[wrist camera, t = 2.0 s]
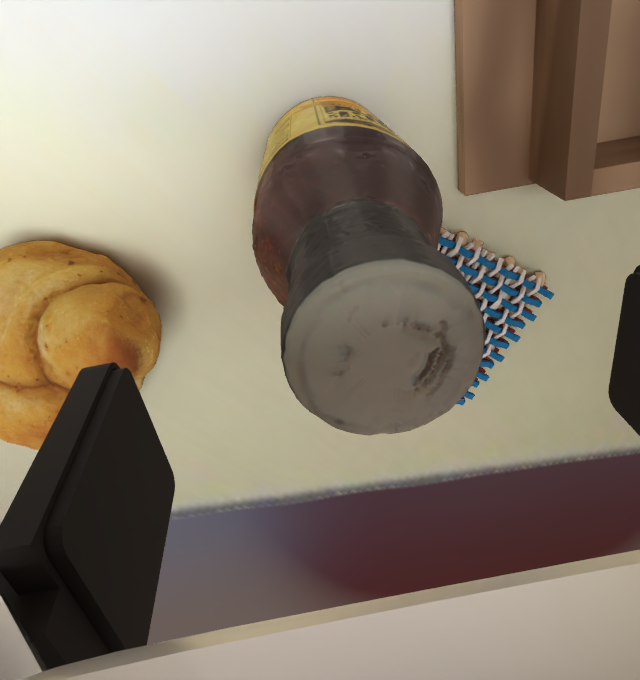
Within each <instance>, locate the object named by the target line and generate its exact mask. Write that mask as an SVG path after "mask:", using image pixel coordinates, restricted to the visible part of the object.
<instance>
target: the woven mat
mask: <svg viewBox="0 0 640 680" xmlns="http://www.w3.org/2000/svg"><path fill="white" fill-rule="evenodd" d="M454 236H455V235H454V234H452V233H449V231H447V230H445V229H443V228H441V229H440V236H439V242H438V249H437V250H438V251H440V252H441V253H443V254H444V255H446V256H447V257H448V258H449V259H450V260H451V261H452V262H453V264H454V265H455V266H456V268H457V269H458V270H459V271H460V273H461V274H462V275H463V276H464V275H465V274H466V276H465V277H464V278H465V280H466V282H467V283H468V285H469V287H470V288H471V291H472V292H475V293H476V294H475V297H476V299H477V300H478V303H479V306H480V309H481V311H483V313H482V316H483V319H484V323H485V326H486V327H487V328H489V329H490V330H489V331H487V330H486V340H485V345H484V352H483V358H482V361H481V364H480V366H482V367H489V368H492V367H493V366H494V362H493V361H492V360H491V359H490V358H487V357H486V356H488V355H489V356H491V357H492V358H494V359H495V360H497V361H500V362H502V360H503V359H504V358H505V357H504V356H502V355H500V354H498V353H497V352H498V351H499V349H498V348H496V347H502V348H505V349H507V348H508V347H509V343H508V341H507V340H505V339H503V338H501V336H503V335H505V336H506V337H508V338H510V339H511V340H513V341H515V342H517V341H518V340H519V339H520V336H518V335H516V334H514V332H515V330H514V329H512V328H510V327H508V325H511V326H515V327H519V328H521V329H523V327H524V326H525V323H524V321H523V320H521V319H519V318H517V317H516V316H517V315H519V314H521V315H522V316H524V317H525V318H527V319H529V320H531V321H534V320H535V318H536V317H537V316H535V315H534V314H532V311H531V310H530V309H528V308H526V307H524V305H525V303H527V304H530V305H533V306H536V307H538V308H539V307H540V306H541V304H542V301H540V299H539V298H537V297H535V296H533V294H535V293H537V292H539V293H540V294H542V295H544V296H545V297H547V298H549V299H551V298H552V297H553V295H554V294H553V293H552V292H550V291H548V290H547V289H548V287H546V286H545V285H544V282H545V277H546V275H545V274H544V273H543V272H535V273H534V275H533V276H531V277H528V276H525V274H526V271H525V270H524V269H522V268H520V267H518V266H516V268H515V269H514V270H512V268H514V262H515V258H513V257H510V256H509V257H507V258H504V259H503V258H500V257H499V259H498V262H496V261H494V260H493V258H494V257H495V254H494V253H491V252H488V251H487V250H485V249H483V251H482V252H481V246H482V245H483V242H482V241H480V240H478V239H476V238H474V239H473V241H472V242H471V243H469V244H468V245H467V241H468V235H467V233H466V232H459V233H458V234H457V236H456V239H454ZM441 245H442V246H444V247H443V248H442V250H440V247H441ZM466 245H467V246H466ZM480 252H481V253H480ZM458 255H460V257H459V259H458V258H456V257H457V256H458ZM473 263H474V264H473ZM471 264H473V265H471ZM478 265H479V267H478ZM490 268H491V269H493V270H492V271H491V272H489V271H490ZM521 273H522V274H521ZM505 277H506V278H507V279H506V280H505V282H504V278H505ZM481 282H482V284H481V285H480V283H481ZM520 284H522V288H521V289H519V288H516V287H517V286H518V285H520ZM494 286H495V287H494ZM497 289H500V291H499V292H498V291H496V290H497ZM512 296H515V298H514V299H513V300H512V299H511V297H512ZM488 301H490V303H489V304H488V303H487V302H488ZM504 307H505V310H504V311H503V310H501V309H502V308H504ZM490 317H495V318H499V320H497V321H495V320H493V319H490ZM495 346H496V347H495ZM484 373H485V369H483V368H481V367H479V371H478V374H477V377H478V378H480V379H481V380H484V381H487V380H488V378H489V376H488V375H487V374H484ZM477 377H476V379H475V381H474V383H473V384H472V385H471V386H474V387H476V388H477V386H478V385H479V381H477V380H478V378H477ZM469 388H470V387H469ZM464 396H465V397H466V398H469V399H473V397H474V396H475V395H474V394H473V393H471V392H469V391H467V393H466V394H465V395H464ZM464 396H463V397H462V398H461V399H460V400H459V401H458V402H457V403H456V404H460V405H463V404H464V403H465V398H464Z"/></svg>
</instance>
